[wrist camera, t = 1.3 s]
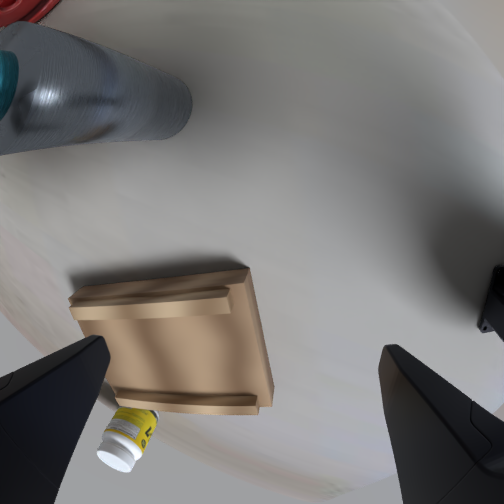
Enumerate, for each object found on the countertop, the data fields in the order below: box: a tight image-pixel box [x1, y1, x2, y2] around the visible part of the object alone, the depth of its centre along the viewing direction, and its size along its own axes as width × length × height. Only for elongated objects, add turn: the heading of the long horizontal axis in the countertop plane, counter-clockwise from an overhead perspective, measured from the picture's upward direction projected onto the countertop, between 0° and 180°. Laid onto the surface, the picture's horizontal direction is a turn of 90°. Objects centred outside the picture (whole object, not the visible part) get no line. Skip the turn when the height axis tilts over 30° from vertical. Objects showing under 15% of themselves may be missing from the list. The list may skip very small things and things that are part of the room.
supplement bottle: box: [97, 406, 159, 472], centre depth 26 cm, size 5×5×8 cm
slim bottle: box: [0, 21, 192, 156], centre depth 12 cm, size 5×5×15 cm
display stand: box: [68, 268, 274, 415], centre depth 24 cm, size 16×12×4 cm
